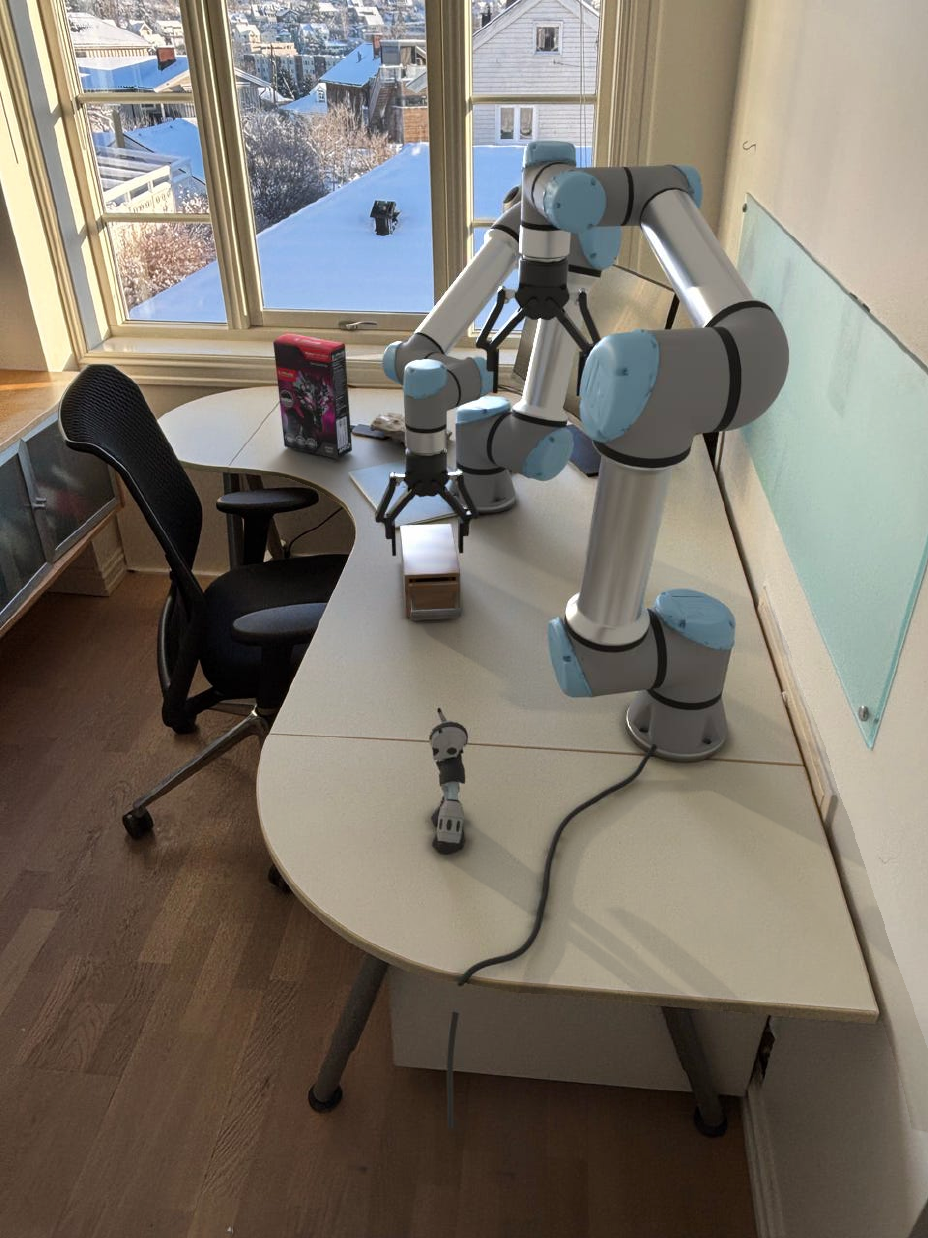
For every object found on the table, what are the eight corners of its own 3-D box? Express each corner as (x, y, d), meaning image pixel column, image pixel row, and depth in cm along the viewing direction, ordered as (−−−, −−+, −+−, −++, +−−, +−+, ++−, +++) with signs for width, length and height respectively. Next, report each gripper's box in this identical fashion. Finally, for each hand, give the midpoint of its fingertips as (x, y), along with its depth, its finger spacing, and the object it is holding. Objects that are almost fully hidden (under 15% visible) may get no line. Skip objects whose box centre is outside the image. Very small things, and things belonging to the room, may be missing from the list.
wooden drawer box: (459, 614, 170) (460, 572, 165) (405, 617, 169) (404, 575, 164) (451, 563, 185) (451, 523, 180) (401, 565, 184) (400, 525, 179)
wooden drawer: (461, 637, 162) (461, 602, 158) (411, 639, 161) (410, 605, 157) (449, 568, 182) (449, 536, 178) (405, 570, 181) (404, 538, 177)
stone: (354, 436, 230) (358, 412, 227) (375, 427, 243) (380, 405, 241) (432, 460, 226) (438, 436, 224) (450, 450, 240) (455, 428, 237)
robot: (470, 888, 117) (472, 772, 106) (432, 889, 117) (430, 773, 106) (463, 780, 133) (464, 669, 122) (429, 781, 133) (427, 670, 122)
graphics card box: (282, 447, 232) (270, 339, 217) (298, 438, 237) (288, 331, 222) (338, 461, 225) (330, 350, 210) (354, 451, 230) (347, 342, 215)
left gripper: (490, 438, 171) (487, 539, 183) (358, 441, 169) (364, 544, 181) (495, 454, 165) (492, 558, 177) (358, 458, 163) (364, 563, 175)
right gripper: (625, 252, 142) (612, 386, 154) (463, 248, 143) (462, 381, 155) (628, 264, 136) (614, 402, 147) (459, 259, 137) (459, 397, 149)
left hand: (427, 551), depth 179 cm, fingers open, 12 cm apart
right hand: (536, 392), depth 151 cm, fingers open, 13 cm apart
